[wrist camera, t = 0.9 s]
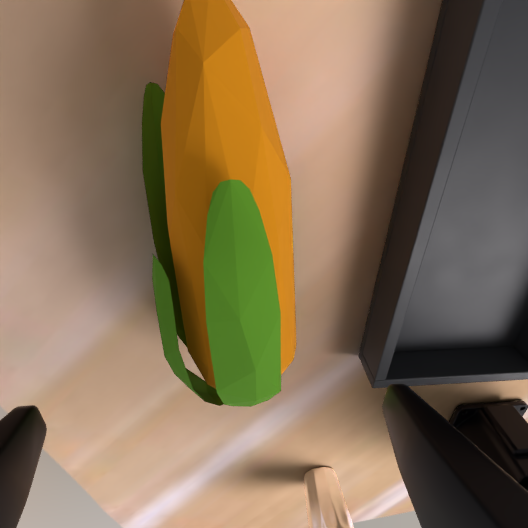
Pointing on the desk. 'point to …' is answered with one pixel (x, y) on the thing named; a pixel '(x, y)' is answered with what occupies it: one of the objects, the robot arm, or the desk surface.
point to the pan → (460, 213)
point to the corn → (219, 211)
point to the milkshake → (325, 500)
